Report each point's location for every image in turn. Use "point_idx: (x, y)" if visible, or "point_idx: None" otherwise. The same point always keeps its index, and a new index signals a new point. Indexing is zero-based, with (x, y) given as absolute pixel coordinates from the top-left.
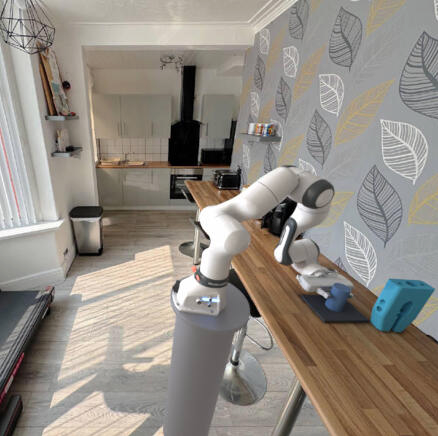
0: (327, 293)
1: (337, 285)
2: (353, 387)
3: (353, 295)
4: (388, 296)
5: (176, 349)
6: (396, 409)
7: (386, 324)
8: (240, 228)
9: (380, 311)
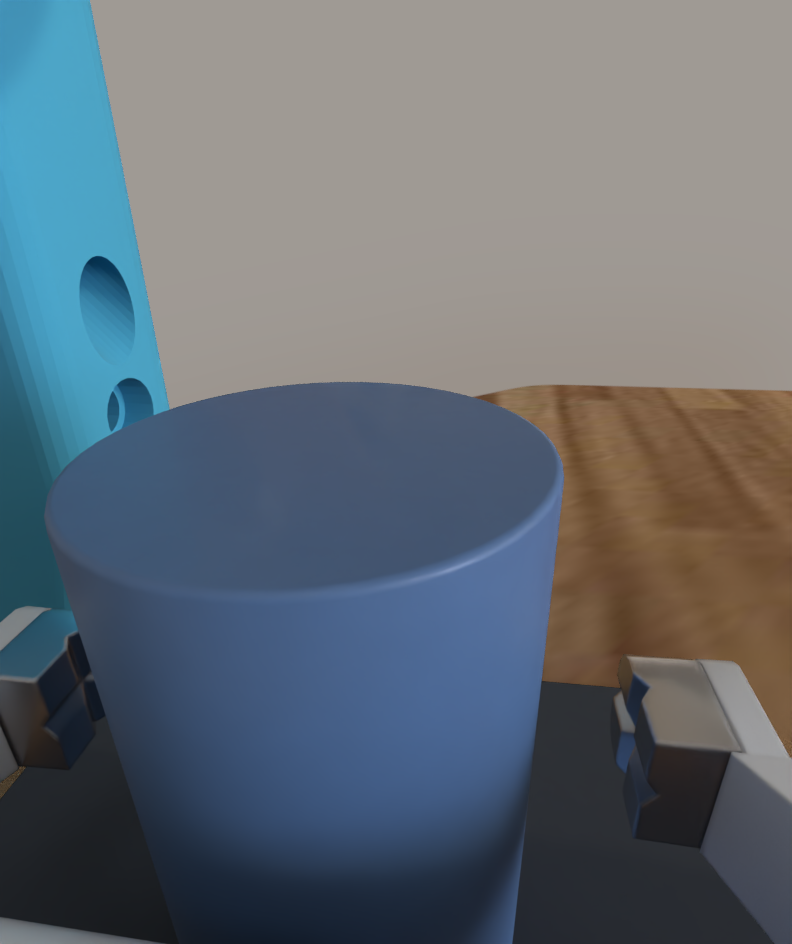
0: (702, 703)
1: (398, 490)
2: (737, 436)
3: (30, 609)
4: (94, 160)
5: None
6: (602, 404)
7: None
8: None
9: None
